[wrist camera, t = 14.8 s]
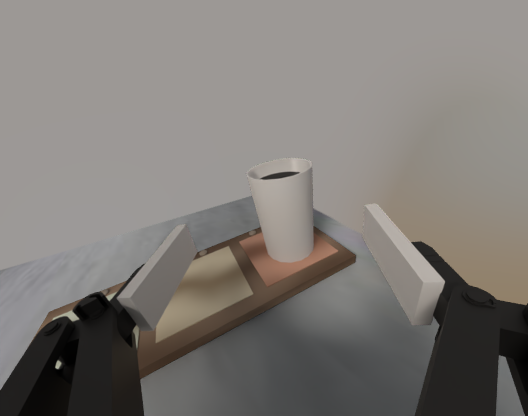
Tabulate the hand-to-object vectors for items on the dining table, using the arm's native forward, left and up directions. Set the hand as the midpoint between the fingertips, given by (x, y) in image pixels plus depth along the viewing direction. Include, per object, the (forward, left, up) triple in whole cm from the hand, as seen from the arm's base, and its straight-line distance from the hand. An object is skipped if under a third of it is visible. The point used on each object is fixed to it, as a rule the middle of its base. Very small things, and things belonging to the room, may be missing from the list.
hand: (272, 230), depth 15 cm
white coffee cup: (-6, +4, -8) cm, 11 cm away
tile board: (-7, -7, -9) cm, 13 cm away
